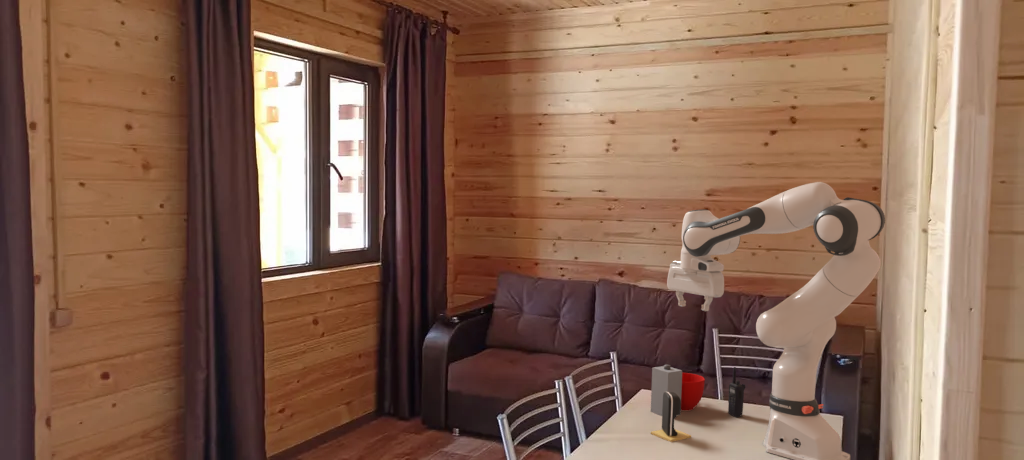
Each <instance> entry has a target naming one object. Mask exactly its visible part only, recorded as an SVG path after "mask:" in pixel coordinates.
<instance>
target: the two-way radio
mask: <svg viewBox="0 0 1024 460" xmlns="http://www.w3.org/2000/svg"><path fill="white" fill-rule="evenodd" d="M732 368H733V371H732V379H731V380H732V382H730V383H729V385H728V408H727V409H728V411H727V413H728V414H730V415H731V416H733V417H735V418H739V417H742V416H743V413H744V412H743V410H744V398H745V396H744V395H745V393H744V392H745V389H746V384H744V383H741V382H740V380H738V379H737V367H736V366H734V367H732Z"/></svg>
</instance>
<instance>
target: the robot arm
mask: <svg viewBox="0 0 1024 460" xmlns="http://www.w3.org/2000/svg"><path fill="white" fill-rule="evenodd" d="M885 224H886V215H885V213H884V211H883V209H882V208H881V207H880V206H879V205H878V204H876V203H875V202H872V201H870V200H866V199H865V200H864V199H860V198H854V197H845V198H843V199H841V198H839V197H838V196H837V194H836V191H835V190H834V188H833V187H832V186H830V185H829V184H828V183H826V182H823V181H815V182H810V183H805V184H802V185H798V186H796V187H793V188H789V189H788V190H785V191H782V192H780V193H778V194H776V195H774V196H771V197H770V198H768V199H765V200H763V201H761V202H759V203H757V204H754V205H753V206H750V207H747V208H746V209H744V210H741V211H738V212H735V213H733V214H732V213H731V214H729V215H726V216H723V217H720V218H719V217H717V216H715V215H714V214H713V213H712V212H711V210H709V209H692V210H689V211H687V212H686V213H685V214H684V217H683V219H682V224H681V242H682V243H681V244H682V247H681V250H680V260H673V261H672V262H671V263H670V264H669V269H668V273H667V279H666V287H667V289H668V290H670V291H675V296H676V298H677V301H678V303H677V304H678V305H677V306H679V307H686V306H687V304H686V303H687V301H686V300H685V298H684V296H683V295H685V293H687V294H693V295H698V296H704V298H703V299H704V303H703V304H701V308H700V310H701V311H704V312H709V311H710V305H711V304H712V302H713V299H714V298H721V297H722V296H723V295H724V294H725V293H724V292H725V277H724V274H723V271H724V270H725V265H724V264H723V263H721V262H720V261H718V260H716V259H715V258H712V256H718V255H720V256H721V255H729V254H732V253H735V252H736V250H737V249H738V247H739V245H740V244H741V236H745V235H746V236H747V235H751V234H752V235H753V234H754V235H756V234H757V235H758V234H761V235H762V234H764V235H780V234H787V233H793V232H798V231H801V230H804V229H807V228H809V227H812V226H813V232H814V235H815V237H816V239H817V240H818V242H819V243H820V244H821V245H822V246H824V248H825V250H826V252H827V253H828V254H830V255H833V256H832V257H831V258H830V259H829V260H828V261H827V262H826V263H825V265H823V266H822V268H821V269H819V271H817V273H816V274H815V275H814V276H813V277H812V278H811V279H810V280H809V281H808V282H807V283H806V284H805V285H803V286H802V287H801V288H799V290H796V291H795V292H794V293H792V294H791V295H789V296H788V297H787V298H785V299H784V300H783V301H781V302H780V303H778V304H776V305H775V306H773V307H772V308H770V309H768V310H766V311H764V312H762V313H760V315H759V316H758V318H757V320H756V323H755V330H756V331H755V332H756V334H757V338H758V339H759V340H760V342H761V343H763V344H764V345H765V346H767V347H771V348H777V349H783V352H782V353H781V355H780V357H779V358H778V360H776V362H775V363H774V365H773V367H772V379H771V382H772V383H771V393H769V410H770V412H769V419H768V425H767V429H766V432H765V433H766V434H765V437H764V440H763V443H762V444H763V446H764V447H765V452H767V453H770V454H774V455H776V456H779V457H782V458H783V457H784V458H787V459H790V460H851V454H850V453H848V452H845V451H843V449H842V448H843V447H842V442H841V441H842V440H841V437H840V434H839V433H838V432H837V430H836V429H834V428H833V427H832V425H831V424H830V423H829V422H828V421H827V420H826V419H825V418H824V417H823V416H822V415H821V412H820V409H823V408H824V404H823V403H821V404H819V403H818V401H817V398H816V397H815V396H816V383H817V380H816V379H817V373H818V372H817V371H818V368H819V364H820V360H821V357H822V355H823V352H824V350H825V348H826V345H827V344H828V342H829V341H830V340H831V339H832V337H833V336H834V335H835V333H836V331H837V320H836V317H837V316H839V315H840V314H841V313H842V312H843V311H845V309H847V307H849V306H850V305H851V304H852V303H853V302H854V301H855V300H856V299H857V298H858V297H859V296H860V295H861V294H862V293H863V292H864V291H865V290H866V289H867V287H868V286H869V285H870V284H871V282H872V281H873V280H874V278H875V277H876V276H877V273H878V272H879V271H880V268H881V265H882V264H881V263H882V262H881V258H880V256H879V254H878V253H877V251H876V250H875V249H874V248H873V247H871V244H870V241H872V240H873V239H875V238H876V237H877V236H879V234H880V233H881V232H882V231H883V229H884V228H885Z"/></svg>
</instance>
